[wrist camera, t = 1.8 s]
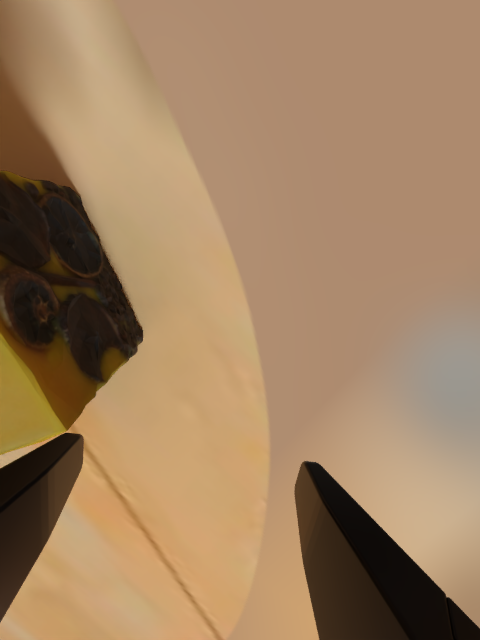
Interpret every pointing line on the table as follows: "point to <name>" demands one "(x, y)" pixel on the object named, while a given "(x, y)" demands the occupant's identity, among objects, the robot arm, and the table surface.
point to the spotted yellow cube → (54, 312)
